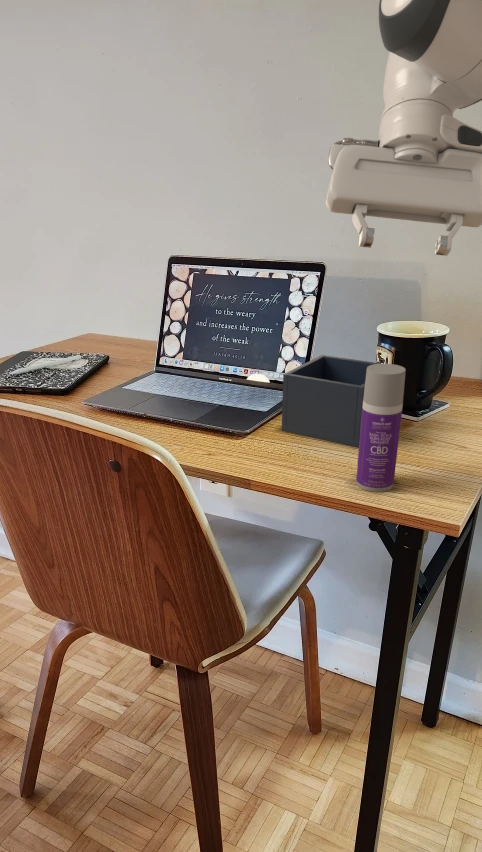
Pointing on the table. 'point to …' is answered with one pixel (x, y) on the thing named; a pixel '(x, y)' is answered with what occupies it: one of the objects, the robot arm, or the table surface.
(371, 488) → the container
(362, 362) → the bin
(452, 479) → the table surface
